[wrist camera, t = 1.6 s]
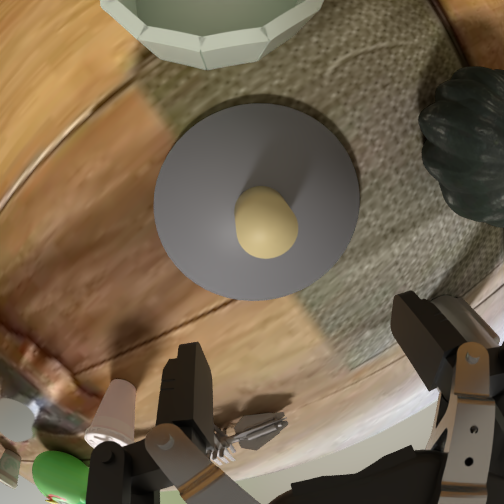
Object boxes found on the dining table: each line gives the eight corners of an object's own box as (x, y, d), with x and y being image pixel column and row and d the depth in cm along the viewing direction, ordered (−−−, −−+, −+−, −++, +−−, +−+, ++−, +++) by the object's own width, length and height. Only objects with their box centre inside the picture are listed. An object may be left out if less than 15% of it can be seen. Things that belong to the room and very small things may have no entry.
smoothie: (122, 367, 33) (98, 463, 20) (155, 395, 35) (143, 486, 23) (92, 379, 34) (66, 464, 21) (123, 405, 36) (107, 487, 24)
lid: (343, 93, 22) (372, 89, 17) (357, 272, 30) (379, 303, 25) (134, 131, 22) (111, 136, 17) (187, 308, 30) (182, 345, 25)
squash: (544, 159, 20) (601, 117, 7) (486, 257, 25) (537, 269, 12) (456, 84, 25) (465, 5, 12) (395, 174, 30) (382, 127, 17)
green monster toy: (37, 429, 41) (20, 483, 28) (108, 460, 46) (99, 516, 32) (43, 455, 47) (31, 498, 34) (102, 478, 52) (95, 524, 39)
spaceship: (84, 468, 33) (114, 498, 34) (275, 414, 33) (301, 451, 33) (101, 444, 41) (126, 472, 42) (271, 385, 40) (294, 420, 41)
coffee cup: (29, 462, 51) (20, 491, 40) (17, 460, 52) (9, 487, 41) (8, 446, 48) (-2, 477, 37) (-2, 445, 48) (-12, 473, 38)
